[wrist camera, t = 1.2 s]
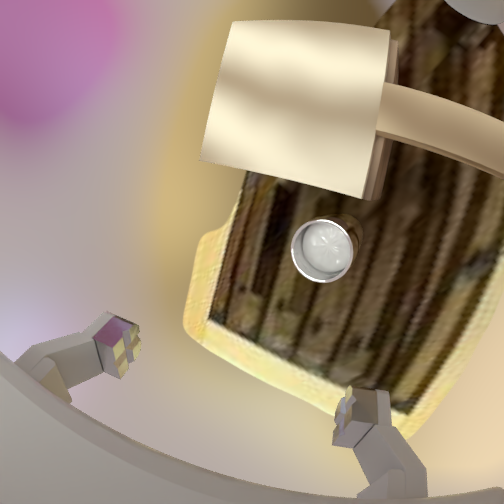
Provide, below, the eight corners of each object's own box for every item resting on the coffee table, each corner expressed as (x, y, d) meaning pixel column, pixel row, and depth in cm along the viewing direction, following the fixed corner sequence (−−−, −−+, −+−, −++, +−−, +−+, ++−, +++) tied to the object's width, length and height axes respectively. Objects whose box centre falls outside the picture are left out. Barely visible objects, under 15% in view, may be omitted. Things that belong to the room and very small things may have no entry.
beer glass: (375, 240, 41) (368, 261, 28) (338, 266, 44) (313, 297, 31) (347, 201, 42) (328, 202, 29) (311, 228, 45) (276, 242, 32)
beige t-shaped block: (240, 28, 18) (230, 19, 16) (527, 88, 10) (536, 80, 9) (208, 162, 21) (195, 160, 19) (505, 249, 13) (514, 254, 12)
